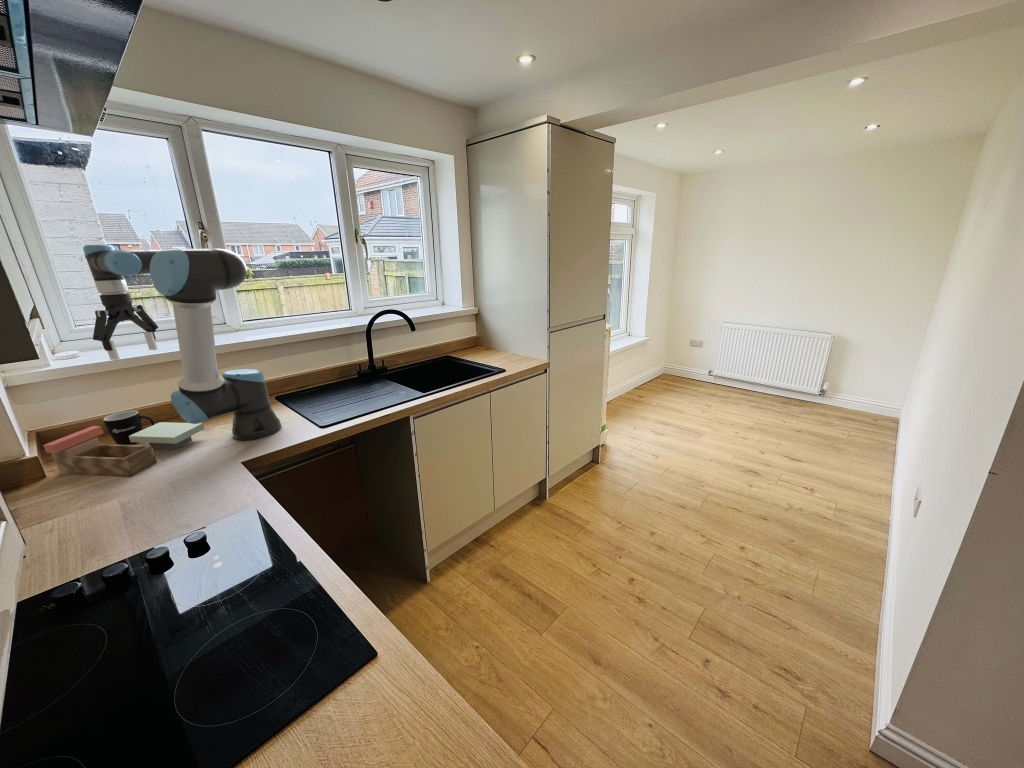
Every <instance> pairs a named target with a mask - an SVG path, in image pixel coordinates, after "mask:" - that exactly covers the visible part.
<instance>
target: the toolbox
mask: <svg viewBox="0 0 1024 768" xmlns="http://www.w3.org/2000/svg"><path fill="white" fill-rule="evenodd" d="M50 454H51V456H52V458H53V461H54V463H55V465H56V466H57V467H56V468H57V469H58V471H59V474H60V475H70V476H71V475H74V476H94V477H115V478H118V477H119V478H132V477H135V476H136V475H137V474H140V473H141V472H143V471H145V470H147V469H149V468H150V467H152V466H154V465H156V464H158V460H157V458H156V454H155V452H154V448H152V446H150V445H145V444H144V445H138V444H132V445H118V444H117V443H115V444H111V443H101V441H100V438H99V437H94V438H91V439H89V440H86V441H84V442H82V443H79V444H77V445H74V446H72V447H69V448H67V449H65V450H62V451H60V452H57V453H50Z"/></svg>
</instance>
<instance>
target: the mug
mask: <svg viewBox="0 0 1024 768" xmlns="http://www.w3.org/2000/svg"><path fill="white" fill-rule="evenodd" d="M142 419H147V420H149V422H151V426H153V425H155V421H154V420H153V419H152V418H151V417H150V416H146V415H140V412H139V411H138V410H125V411H120V412H117V413H113V414H109V415H107V416H105V417H104V418H103V419H102V420H103V423H104V425H105V427H106V429H107V431H108V433H109V435H110V436H111V438H112V439H113V441H114V443H115V444H116V445H136V444H137V443H139V442H131V441H130V439H129V436H130V435H132V434H134V433H137V432H139V431H141V430H144V426H143V423H142Z"/></svg>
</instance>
